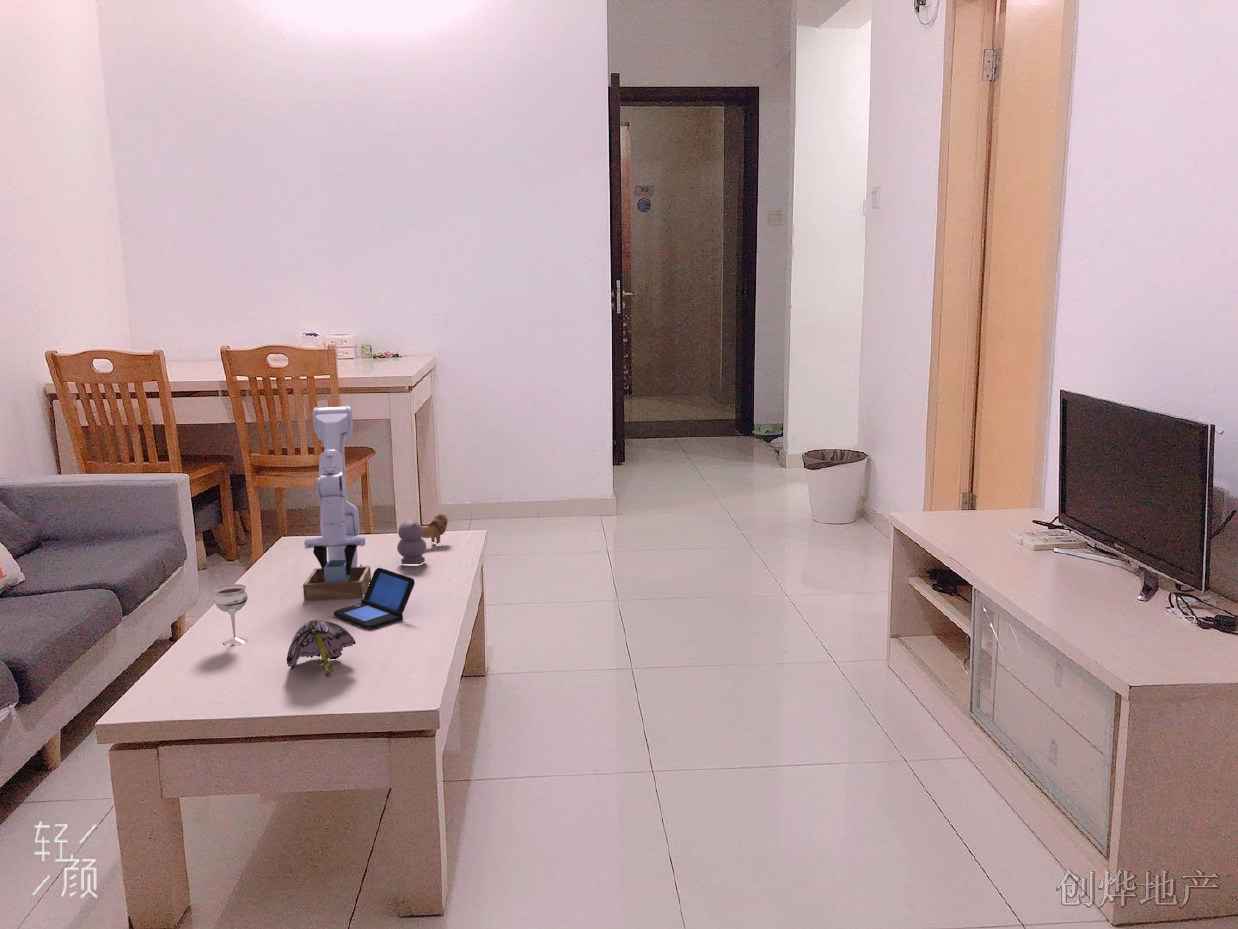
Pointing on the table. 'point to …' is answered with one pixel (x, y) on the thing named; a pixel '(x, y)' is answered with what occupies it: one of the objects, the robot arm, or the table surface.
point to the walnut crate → (337, 585)
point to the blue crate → (336, 571)
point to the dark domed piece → (319, 643)
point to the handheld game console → (380, 601)
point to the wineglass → (231, 604)
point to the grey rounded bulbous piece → (411, 543)
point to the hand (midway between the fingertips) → (337, 574)
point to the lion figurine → (435, 528)
